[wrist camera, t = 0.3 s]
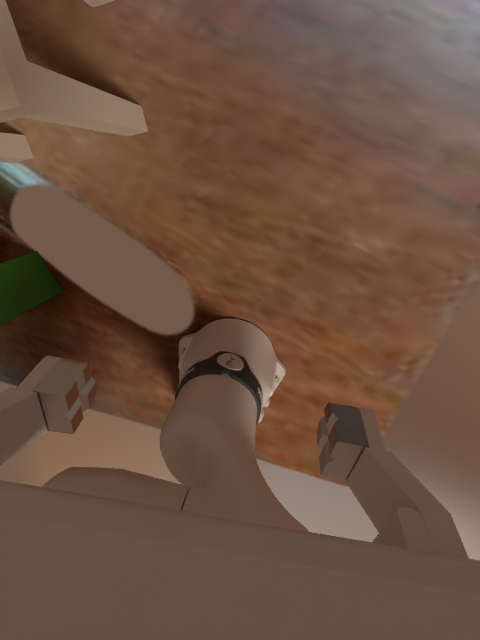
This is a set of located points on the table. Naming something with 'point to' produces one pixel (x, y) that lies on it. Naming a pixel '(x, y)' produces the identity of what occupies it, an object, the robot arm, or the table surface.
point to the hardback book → (24, 285)
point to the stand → (53, 96)
